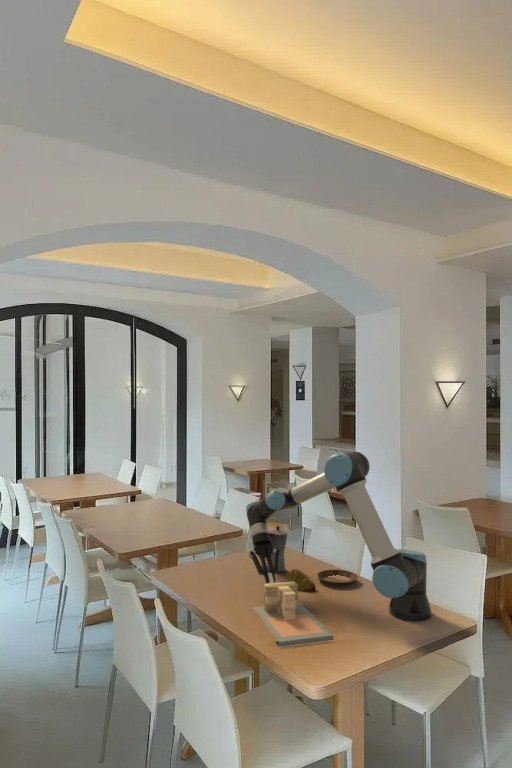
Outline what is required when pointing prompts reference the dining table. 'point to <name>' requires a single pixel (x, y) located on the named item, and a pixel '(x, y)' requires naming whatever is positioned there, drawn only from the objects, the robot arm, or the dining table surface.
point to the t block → (281, 599)
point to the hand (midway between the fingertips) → (272, 590)
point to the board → (294, 627)
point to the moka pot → (278, 547)
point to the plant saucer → (336, 582)
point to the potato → (301, 580)
